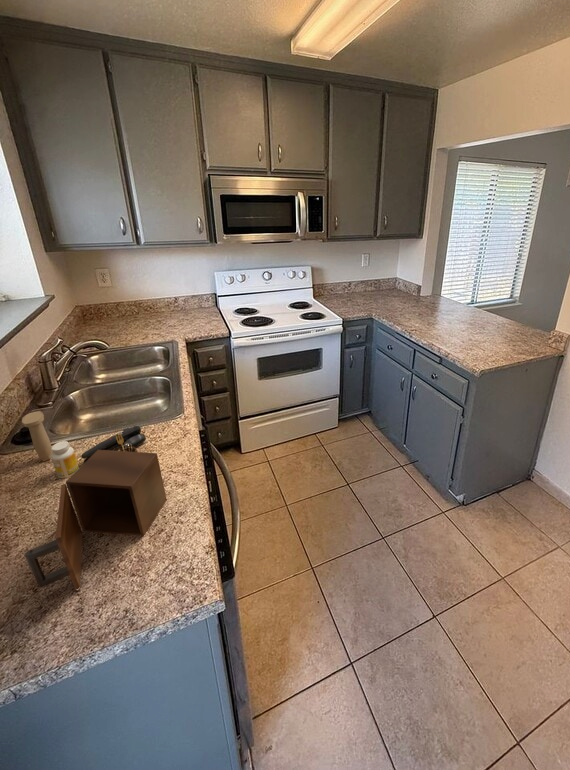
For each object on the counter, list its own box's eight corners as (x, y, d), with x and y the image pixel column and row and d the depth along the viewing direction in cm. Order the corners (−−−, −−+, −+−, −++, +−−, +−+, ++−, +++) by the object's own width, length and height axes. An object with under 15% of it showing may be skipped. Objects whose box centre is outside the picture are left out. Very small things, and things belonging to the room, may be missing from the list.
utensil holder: (126, 481, 101) (117, 447, 97) (115, 471, 105) (106, 438, 100) (146, 469, 106) (138, 436, 101) (135, 460, 109) (128, 428, 105)
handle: (36, 467, 106) (20, 425, 101) (38, 455, 111) (23, 414, 106) (56, 461, 109) (41, 420, 103) (57, 449, 114) (43, 409, 108)
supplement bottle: (55, 481, 101) (46, 454, 98) (59, 468, 106) (50, 442, 102) (78, 475, 103) (69, 448, 100) (80, 463, 108) (72, 437, 104)
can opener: (140, 433, 121) (137, 419, 119) (148, 443, 117) (145, 429, 115) (80, 458, 110) (75, 443, 108) (86, 470, 105) (81, 455, 103)
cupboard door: (41, 607, 70) (17, 553, 64) (49, 545, 83) (29, 495, 77) (80, 590, 73) (60, 536, 68) (82, 532, 86) (65, 483, 80)
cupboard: (144, 536, 85) (131, 486, 79) (82, 531, 86) (65, 481, 80) (166, 500, 95) (156, 453, 89) (111, 496, 96) (97, 449, 91)
